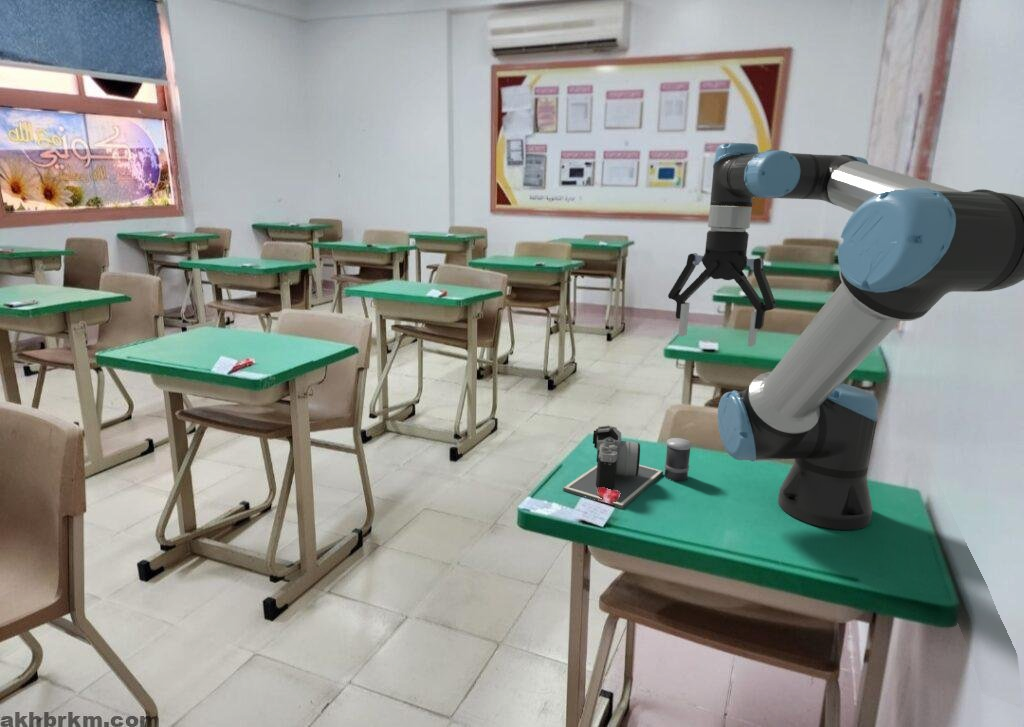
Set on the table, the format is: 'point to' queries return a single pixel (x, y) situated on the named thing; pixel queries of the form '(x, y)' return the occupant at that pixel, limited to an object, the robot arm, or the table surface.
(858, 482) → the robot arm
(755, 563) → the table surface
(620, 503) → the mat
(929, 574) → the table surface
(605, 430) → the camera
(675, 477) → the lens
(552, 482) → the table surface
